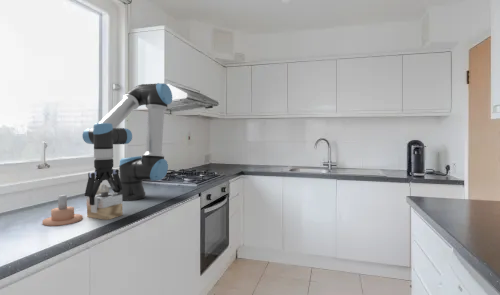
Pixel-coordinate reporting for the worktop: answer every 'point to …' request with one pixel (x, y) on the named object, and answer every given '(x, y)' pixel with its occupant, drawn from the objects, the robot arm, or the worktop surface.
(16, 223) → the worktop surface
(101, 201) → the grey square stone block
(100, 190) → the stone
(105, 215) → the stand
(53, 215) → the hub
